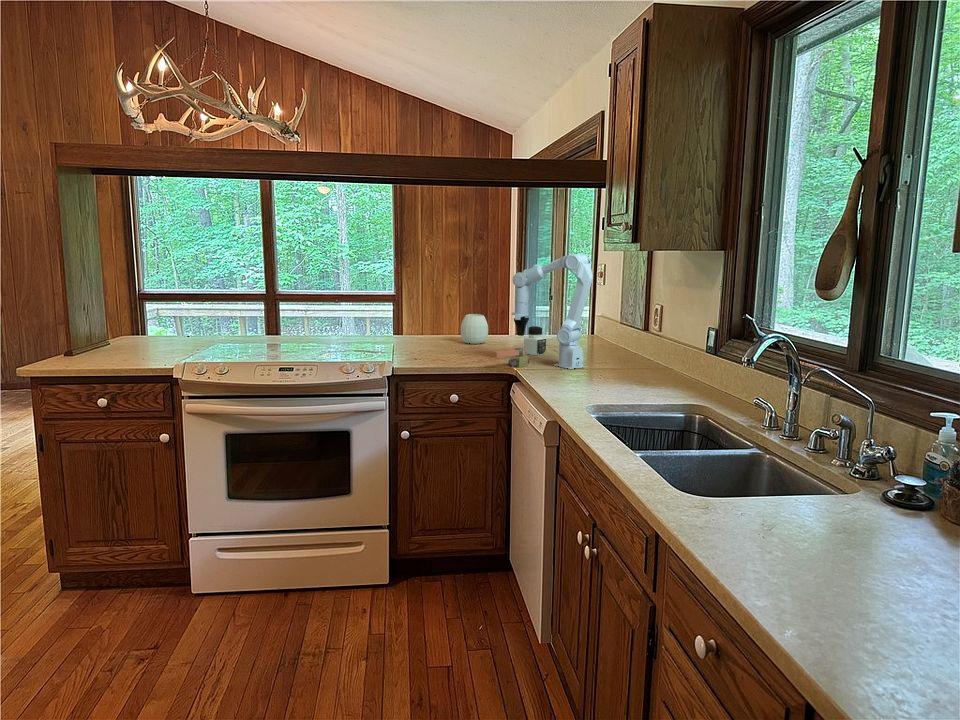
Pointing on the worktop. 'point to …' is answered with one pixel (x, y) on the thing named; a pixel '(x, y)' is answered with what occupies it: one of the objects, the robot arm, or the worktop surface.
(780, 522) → the worktop surface
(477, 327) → the cup
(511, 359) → the valve
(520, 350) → the lever
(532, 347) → the medicine bottle
